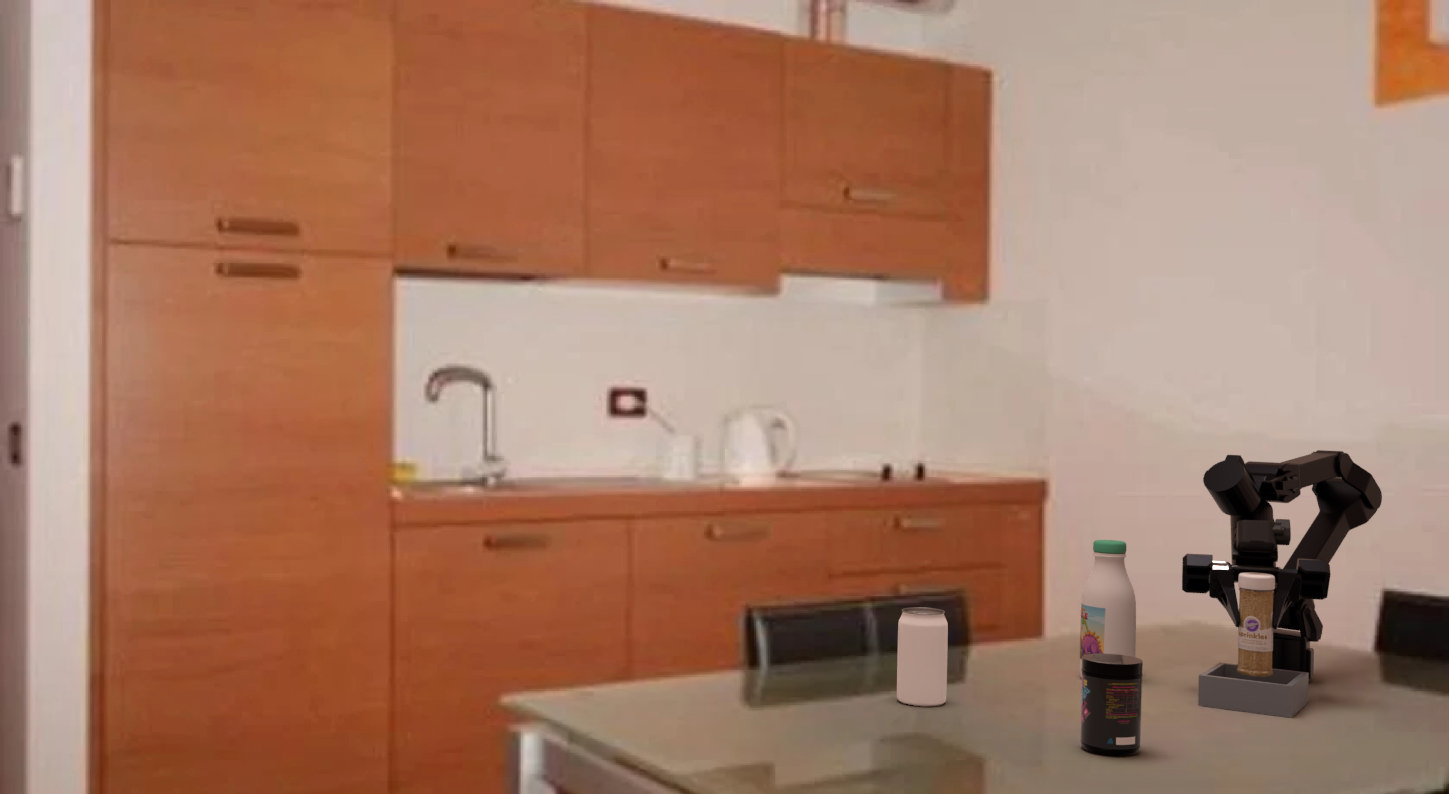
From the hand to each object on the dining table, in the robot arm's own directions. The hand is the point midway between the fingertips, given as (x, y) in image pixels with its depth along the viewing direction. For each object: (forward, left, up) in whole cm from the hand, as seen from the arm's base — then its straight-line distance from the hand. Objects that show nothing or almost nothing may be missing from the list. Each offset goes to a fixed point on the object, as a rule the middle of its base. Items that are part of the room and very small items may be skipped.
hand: (1256, 626), depth 183 cm
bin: (0, +1, -11) cm, 11 cm away
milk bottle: (-21, +5, -11) cm, 24 cm away
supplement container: (-8, -36, -11) cm, 38 cm away
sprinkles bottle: (0, +1, -7) cm, 7 cm away
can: (-36, -26, -11) cm, 46 cm away
